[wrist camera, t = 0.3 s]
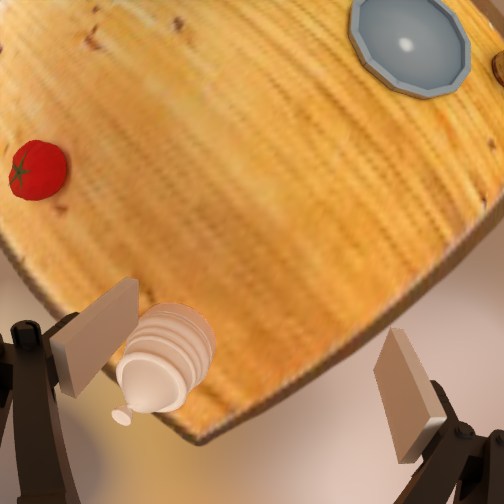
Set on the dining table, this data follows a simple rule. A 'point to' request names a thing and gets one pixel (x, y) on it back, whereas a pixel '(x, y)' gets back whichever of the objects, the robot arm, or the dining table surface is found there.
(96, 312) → the robot arm
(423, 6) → the serving plate
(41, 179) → the tomato
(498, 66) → the sauce bottle
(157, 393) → the honey pot
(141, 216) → the dining table surface
